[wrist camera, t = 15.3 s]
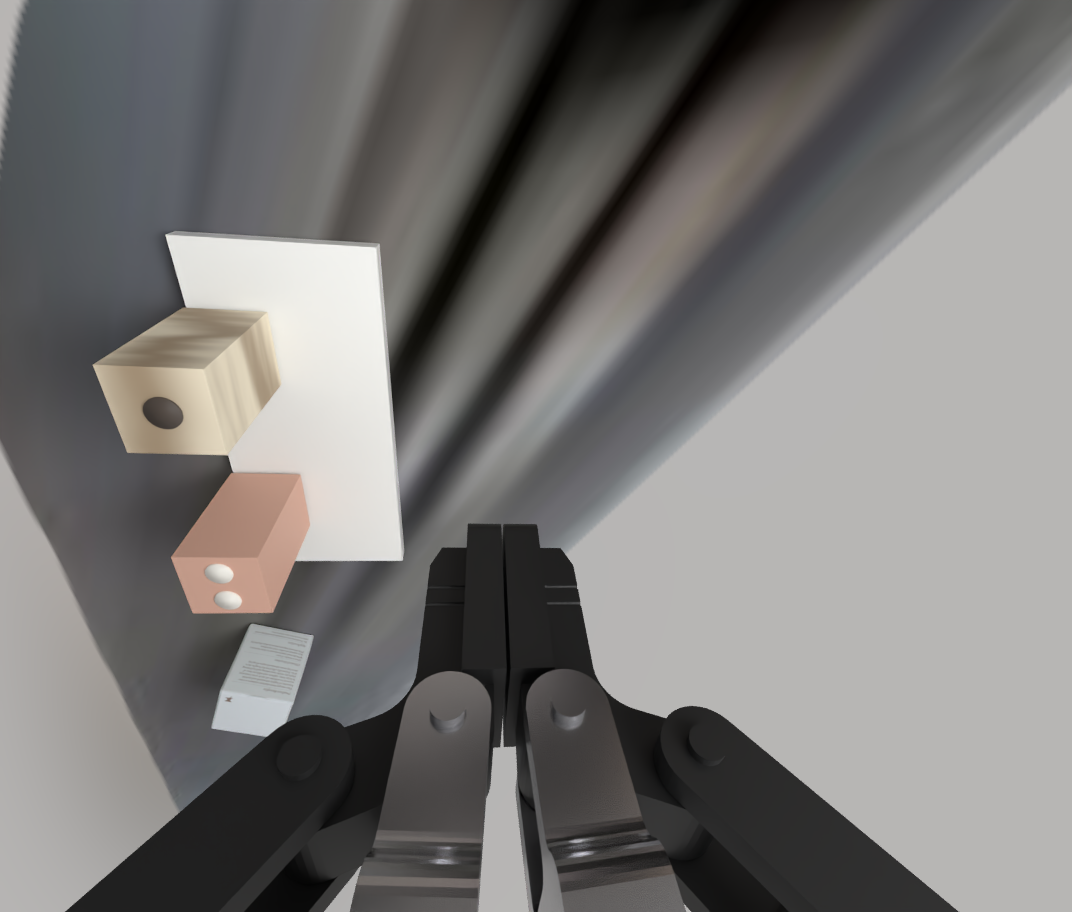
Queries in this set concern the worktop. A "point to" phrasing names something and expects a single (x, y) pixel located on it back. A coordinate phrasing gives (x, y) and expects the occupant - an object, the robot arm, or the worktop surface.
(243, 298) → the keypad board
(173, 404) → the key one
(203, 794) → the robot arm
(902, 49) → the worktop surface
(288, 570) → the key two
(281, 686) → the product box
